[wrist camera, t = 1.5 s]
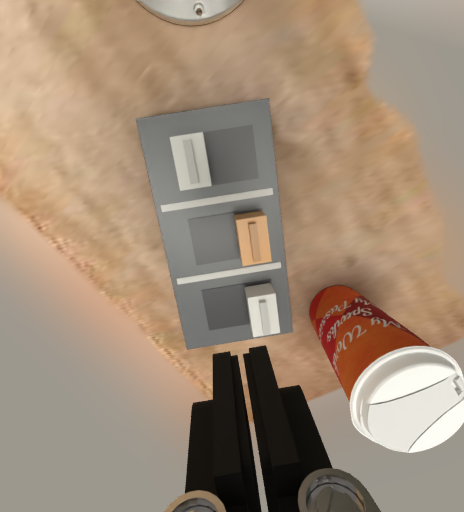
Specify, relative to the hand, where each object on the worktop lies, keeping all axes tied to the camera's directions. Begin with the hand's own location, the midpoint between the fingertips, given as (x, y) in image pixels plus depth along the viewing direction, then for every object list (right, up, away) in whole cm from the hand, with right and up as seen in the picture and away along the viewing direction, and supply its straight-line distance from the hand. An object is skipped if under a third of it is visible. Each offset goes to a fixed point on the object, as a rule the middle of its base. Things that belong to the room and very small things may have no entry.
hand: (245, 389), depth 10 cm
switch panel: (-1, +7, +22) cm, 23 cm away
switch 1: (-4, +12, +17) cm, 21 cm away
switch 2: (+1, +6, +19) cm, 20 cm away
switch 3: (+2, 0, +21) cm, 21 cm away
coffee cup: (+11, -2, +26) cm, 28 cm away
